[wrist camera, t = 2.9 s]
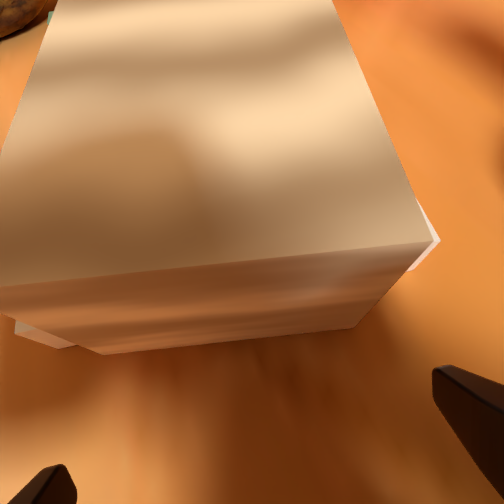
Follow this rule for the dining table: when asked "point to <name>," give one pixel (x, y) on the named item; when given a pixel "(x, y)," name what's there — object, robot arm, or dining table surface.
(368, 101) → the metallic block
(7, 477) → the dining table surface
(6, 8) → the potato
